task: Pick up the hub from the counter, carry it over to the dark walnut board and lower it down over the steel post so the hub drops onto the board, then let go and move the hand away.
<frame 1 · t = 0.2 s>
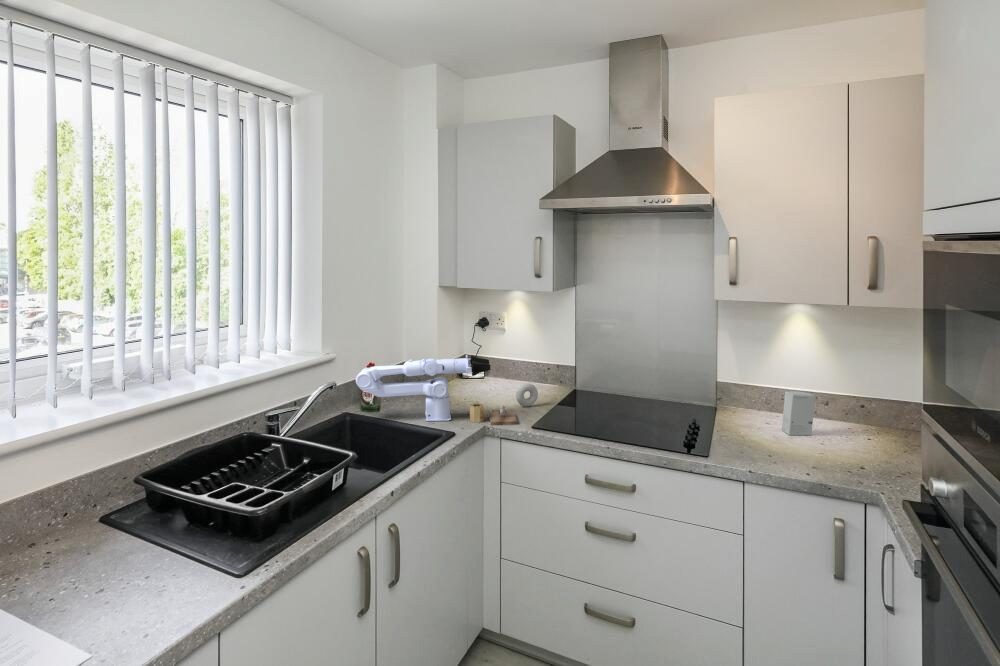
hand: (489, 364, 217), 21 cm above the worktop, tool horizontal, fingers open, 7 cm apart
hub: (476, 420, 216), on the worktop
donut: (526, 407, 235), on the worktop
shaft stand: (502, 419, 217), on the worktop
skincare box: (796, 433, 201), on the worktop
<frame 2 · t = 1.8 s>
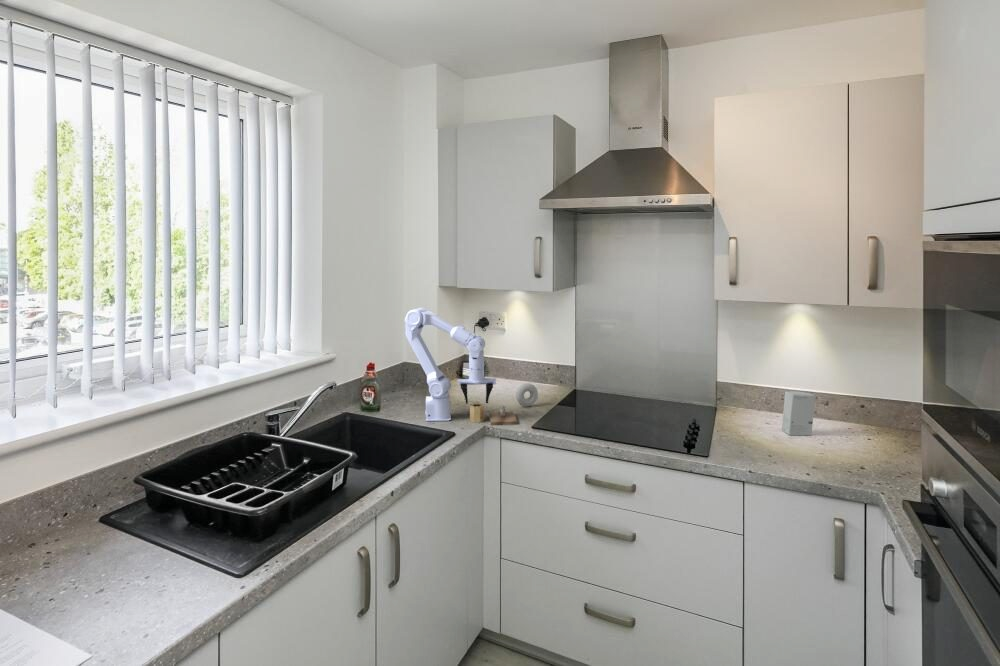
hand: (476, 402, 215), 7 cm above the worktop, tool pointing down, fingers open, 7 cm apart
nothing on the worktop moved.
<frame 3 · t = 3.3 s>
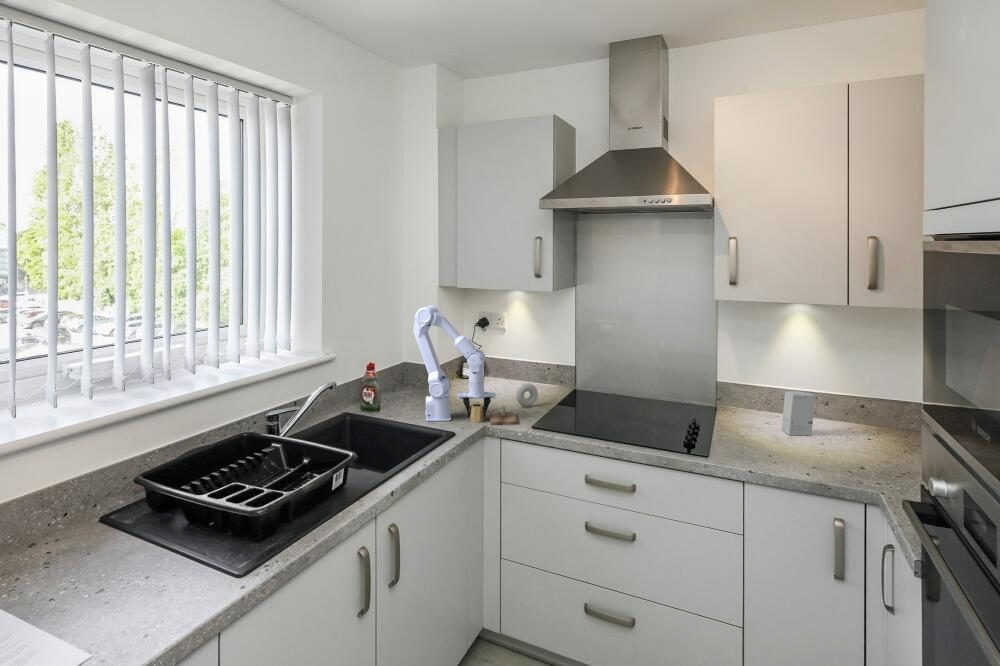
hand: (476, 416, 215), 1 cm above the worktop, tool pointing down, fingers closed on hub, 5 cm apart
hub: (476, 420, 216), on the worktop, touching gripper
everything else where it was.
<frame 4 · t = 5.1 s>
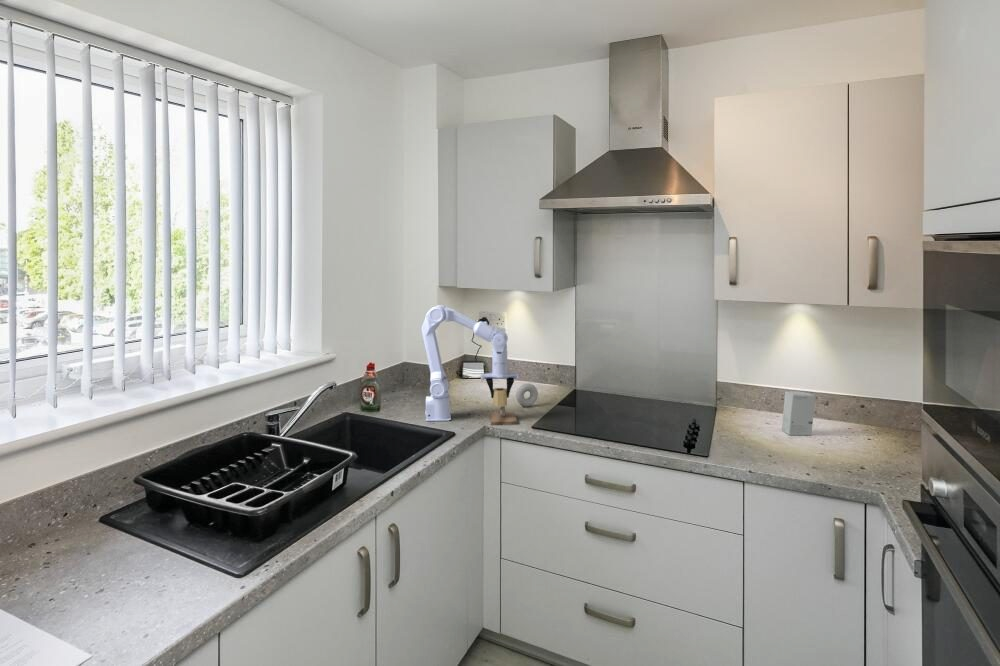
hand: (499, 397, 215), 9 cm above the worktop, tool pointing down, fingers closed on hub, 5 cm apart
hub: (499, 404, 215), point 6 cm above the worktop, touching gripper
everything else where it was.
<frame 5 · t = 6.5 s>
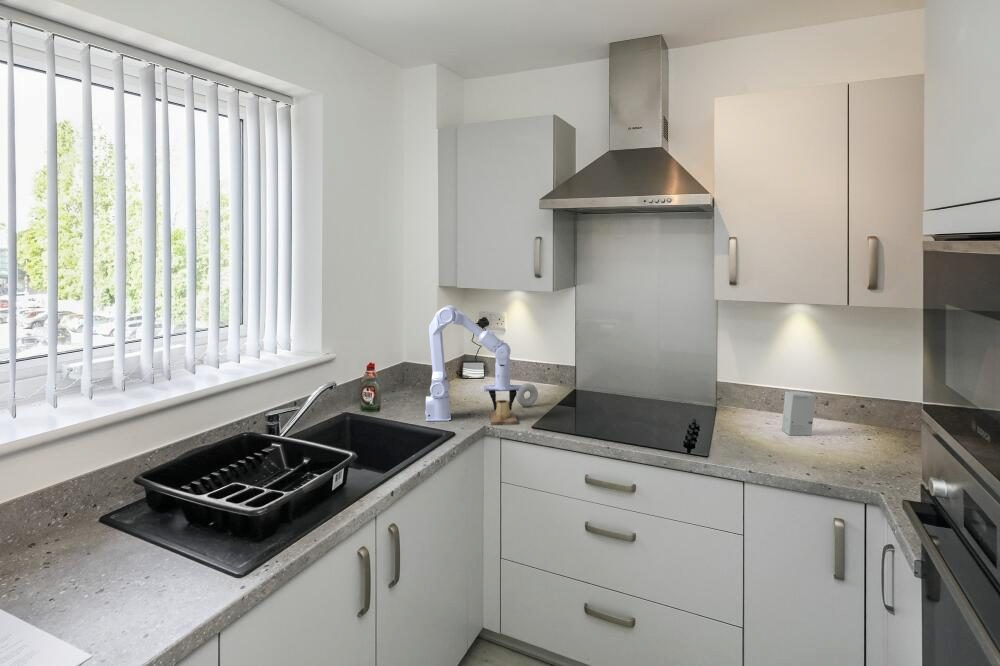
hand: (502, 409, 216), 4 cm above the worktop, tool pointing down, fingers closed on hub, 5 cm apart
hub: (502, 416, 216), point 1 cm above the worktop, touching gripper, shaft stand
everything else where it was.
when the fingers open (4 cm above the worktop, at t = 7.3 s): hub stays where it is, resting on shaft stand.
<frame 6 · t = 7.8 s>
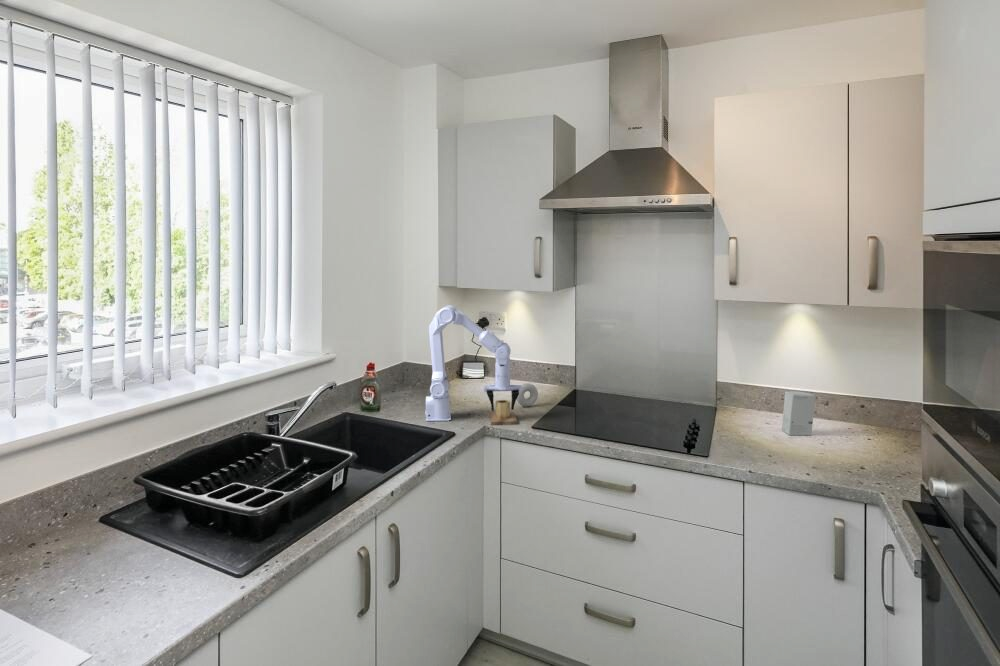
hand: (502, 409, 216), 4 cm above the worktop, tool pointing down, fingers open, 7 cm apart
hub: (502, 416, 216), point 1 cm above the worktop, touching shaft stand
everything else where it was.
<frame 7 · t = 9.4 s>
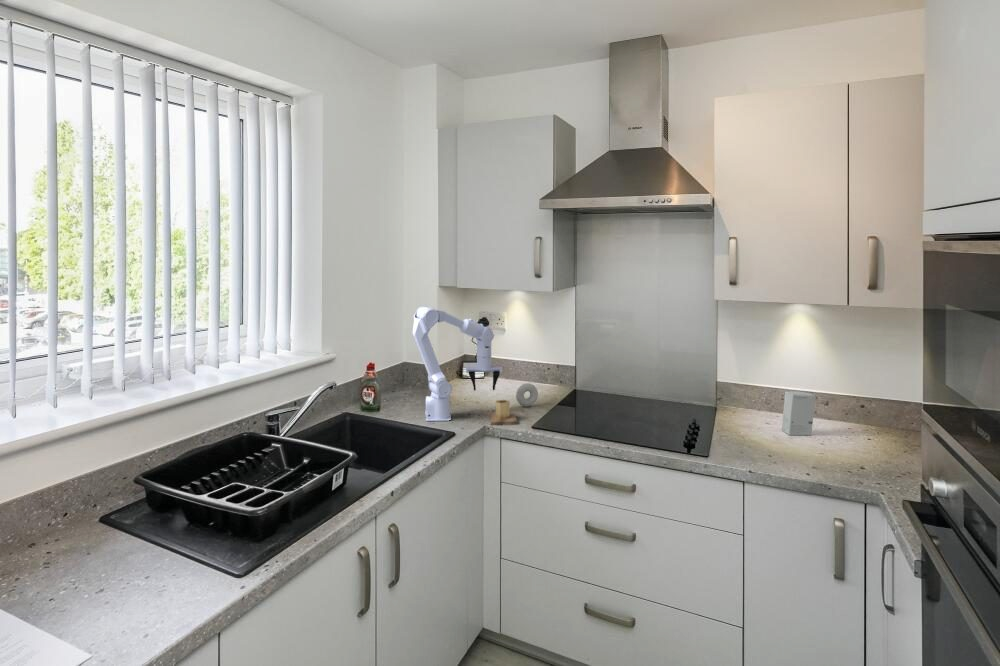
hand: (484, 389, 225), 9 cm above the worktop, tool pointing down, fingers open, 7 cm apart
nothing on the worktop moved.
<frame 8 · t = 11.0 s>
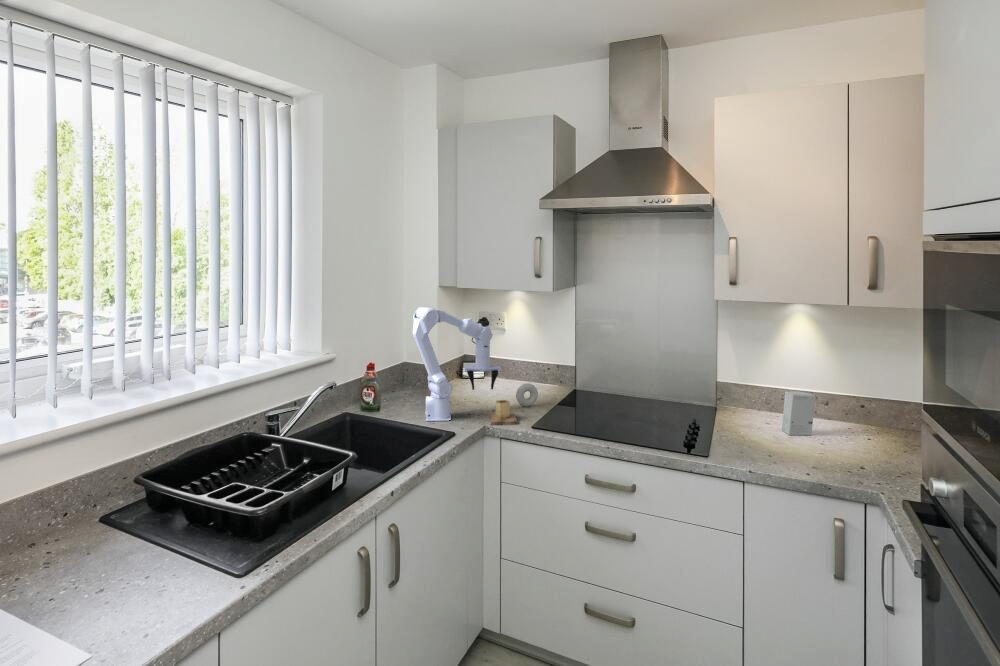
hand: (482, 389, 226), 9 cm above the worktop, tool pointing down, fingers open, 7 cm apart
nothing on the worktop moved.
at the end: hub 0.1 cm from the shaft stand (horizontally); hub point 1.2 cm above the worktop; the gripper is holding nothing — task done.
